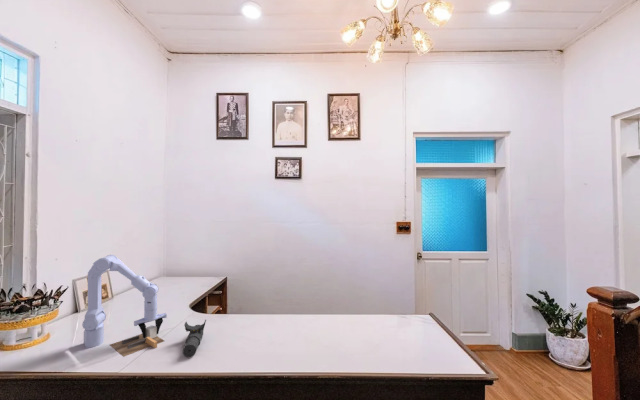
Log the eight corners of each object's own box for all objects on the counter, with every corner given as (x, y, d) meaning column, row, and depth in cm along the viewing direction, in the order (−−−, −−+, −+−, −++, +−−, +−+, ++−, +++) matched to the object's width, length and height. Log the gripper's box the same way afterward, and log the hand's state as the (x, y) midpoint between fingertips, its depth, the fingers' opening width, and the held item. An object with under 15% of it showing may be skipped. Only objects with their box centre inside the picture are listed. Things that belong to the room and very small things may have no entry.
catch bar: (146, 342, 140) (146, 337, 140) (148, 341, 141) (148, 336, 141) (154, 348, 135) (154, 342, 135) (157, 347, 136) (157, 341, 136)
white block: (144, 338, 145) (144, 328, 145) (151, 334, 149) (151, 325, 149) (149, 339, 143) (149, 329, 143) (156, 336, 147) (156, 326, 147)
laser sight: (177, 359, 128) (177, 336, 128) (188, 336, 150) (188, 317, 150) (201, 356, 130) (201, 334, 130) (207, 334, 152) (207, 315, 152)
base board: (109, 346, 138) (109, 341, 138) (149, 333, 153) (149, 328, 153) (123, 358, 128) (123, 353, 128) (164, 342, 142) (164, 337, 142)
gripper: (163, 303, 154) (163, 328, 154) (132, 310, 144) (132, 337, 144) (168, 306, 149) (167, 332, 149) (135, 314, 139) (135, 342, 139)
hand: (150, 335), depth 146 cm, fingers closed on white block, 5 cm apart
